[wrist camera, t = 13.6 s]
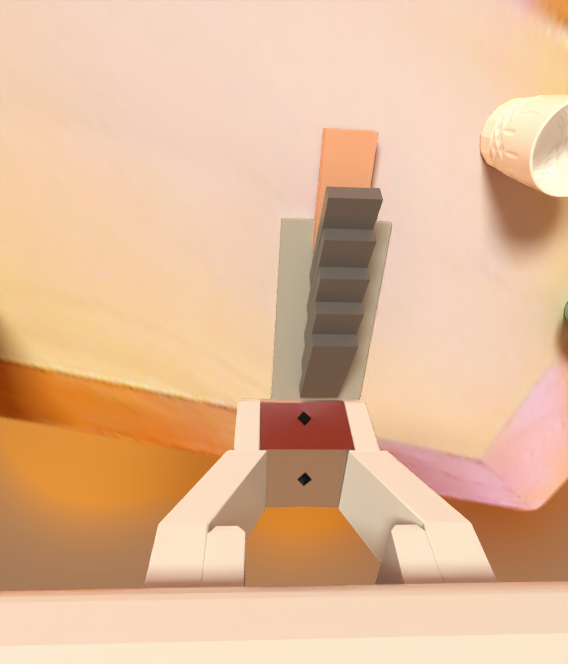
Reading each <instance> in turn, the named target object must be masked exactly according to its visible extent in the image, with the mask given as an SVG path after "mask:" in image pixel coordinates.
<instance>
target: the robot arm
mask: <svg viewBox="0 0 568 664" xmlns="http://www.w3.org/2000/svg"><path fill="white" fill-rule="evenodd" d="M287 506H323V507H339V510H340V511H341V513H342V514H343V515H344V516H345V518H346V519H347V520H348V522H349V523H350V524H351V526H352V527H353V528H354V530H355V531H356V532H357V533H358V535H359V536H360V538H361V539H362V540H363V541H364V542H365V544H366V545H367V547H368V548H369V549H370V551H371V552H372V553H373V555H374V556H375V557H376V559H377V560H378V561H379V562H380V564H381V566H380V570H379V573H378V576H377V580H376V583H375V585H330V586H329V585H326V586H325V585H324V586H264V587H263V586H261V587H245V541H246V539H247V538H248V536H249V534H250V533H251V531H252V530H253V528H254V526H255V525H256V523H257V521H258V520H259V518H260V517H261V515H262V513H263V512H264V510H265V507H287ZM0 664H568V582H510V583H509V582H508V583H507V582H506V583H498V582H497V580H496V578H495V575H494V573H493V571H492V569H491V567H490V564H489V562H488V560H487V558H486V555H485V553H484V551H483V549H482V546H481V544H480V542H479V540H478V538H477V535H476V533H475V531H474V529H473V526H472V524H471V523H470V522H469V521H468V520H467V519H466V518H465V517H463V516H462V515H461V514H460V513H459V512H458V511H456V510H455V509H454V508H453V507H452V506H451V505H449V504H448V503H447V502H446V501H445V500H444V499H442V498H441V497H440V496H439V495H438V494H437V493H435V492H434V491H433V490H432V489H431V488H430V487H428V486H427V485H426V484H425V483H424V482H423V481H421V480H420V479H419V478H418V477H417V476H416V475H414V474H413V473H412V472H411V471H410V470H409V469H407V468H406V467H405V466H404V465H403V464H402V463H400V462H399V461H398V460H397V459H396V458H394V457H393V456H392V455H391V454H390V453H389V452H387V451H380V448H379V445H378V441H377V438H376V435H375V432H374V428H373V425H372V422H371V419H370V415H369V412H368V409H367V406H366V402H365V401H364V400H342V401H341V400H280V399H261V400H260V399H239V400H238V405H237V418H236V431H235V444H234V450H227V452H226V453H225V454H224V455H223V456H222V457H221V458H220V459H219V460H218V461H217V462H216V464H215V465H214V466H213V467H212V468H211V469H210V470H209V471H208V472H207V473H206V474H205V475H204V476H203V477H202V479H200V481H199V482H198V483H197V484H196V485H195V486H194V487H193V488H192V489H191V490H190V491H189V492H188V493H187V494H186V496H185V497H184V498H183V499H182V500H181V501H180V502H179V503H178V504H177V505H176V506H175V507H174V509H172V511H171V512H170V513H169V514H168V515H167V516H166V517H165V518H164V519H163V520H162V521H161V522H160V523H159V525H158V529H157V533H156V537H155V542H154V546H153V550H152V555H151V559H150V563H149V568H148V572H147V576H146V580H145V584H144V588H129V589H70V590H69V589H68V590H67V589H65V590H8V591H7V590H3V591H0Z"/></svg>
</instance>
